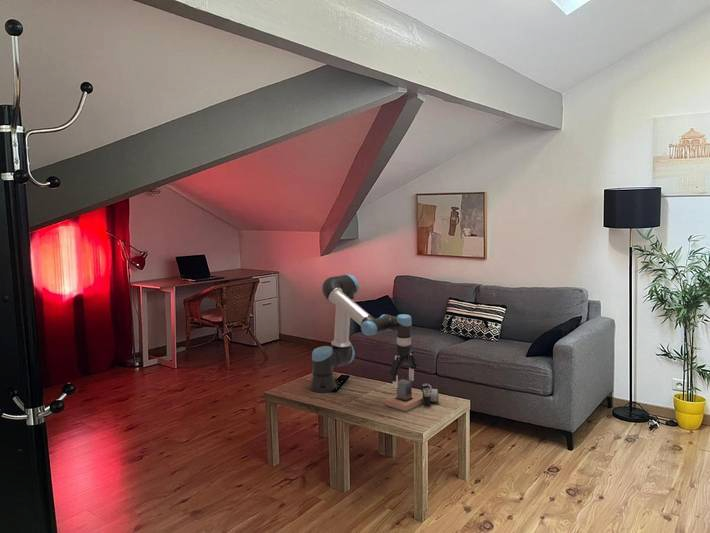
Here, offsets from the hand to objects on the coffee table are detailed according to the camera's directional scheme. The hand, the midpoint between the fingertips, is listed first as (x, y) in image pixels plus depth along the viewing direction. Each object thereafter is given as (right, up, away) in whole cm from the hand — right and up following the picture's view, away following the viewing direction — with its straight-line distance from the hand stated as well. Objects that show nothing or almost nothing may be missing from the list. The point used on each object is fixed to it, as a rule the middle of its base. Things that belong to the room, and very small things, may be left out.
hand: (403, 383), depth 304 cm
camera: (+14, -11, +4) cm, 19 cm away
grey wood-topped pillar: (+1, -11, +1) cm, 11 cm away
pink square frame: (+1, -11, +1) cm, 11 cm away
